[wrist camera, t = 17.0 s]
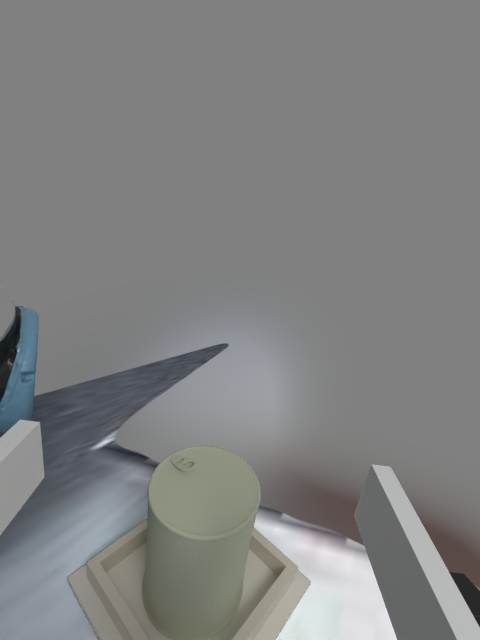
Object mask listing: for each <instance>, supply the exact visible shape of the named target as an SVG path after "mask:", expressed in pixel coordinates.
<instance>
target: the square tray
mask: <svg viewBox="0 0 480 640" xmlns="http://www.w3.org/2000/svg"><path fill="white" fill-rule="evenodd" d="M147 527H148V518H147V519H146V520H145V521H143V522H142V523H141V524H139V525H138V526H136V527H135V528H134V529H132V530H131V531H129V532H128V533H127V534H125V535H124V536H122V537H121V538H120V539H118V540H117V541H115V542H114V543H113V544H111V545H110V546H108V547H107V548H106V549H104V550H103V551H101V552H100V553H99V554H97V555H96V556H94V557H93V558H92V559H90V560H89V561H87V562H86V564H85V565H84V566H82V567H81V568H80V569H78V570H77V571H75V572H74V573H73V574H71V575H70V576H68V577H67V581H68V583H69V585H70V587H71V589H72V591H73V593H74V594H75V596H76V598H77V600H78V602H79V604H80V606H81V607H82V609H83V611H84V613H85V615H86V617H87V618H88V620H89V622H90V624H91V626H92V628H93V630H94V631H95V633H96V635H97V637H98V639H99V640H173V639H170V638H168V637H167V636H165V635H164V634H162V633H161V632H160V631H159V630H158V629H157V628H156V627H155V626H154V625H153V623H152V622H151V620H150V619H149V617H148V615H147V612H146V610H145V607H144V603H143V596H142V584H143V577H144V573H145V564H146V548H147ZM297 568H298V566H297V565H295V564H294V563H293V562H292V561H291V560H290V559H289V558H288V557H286V556H285V555H284V554H283V553H282V552H281V551H280V550H279V549H277V548H276V547H275V546H274V545H273V544H272V543H271V542H270V541H269V540H267V539H266V538H265V537H264V536H263V535H262V534H261V533H260V532H258V531H257V530H256V529H255V528H254V527H253V531H252V536H251V541H250V546H249V551H248V556H247V561H246V567H245V572H244V578H243V592H242V598H241V602H240V605H239V607H238V610H237V612H236V613H235V615H234V617H233V618H232V620H231V621H230V622H229V624H228V625H227V626H226V627H225V628H224V629H223V630H222V631H221V632H219V633H218V634H216V635H215V636H213V637H211V638H209V639H207V640H275V639H276V638H277V636H278V635H279V633H280V632H281V630H282V628H283V627H284V625H285V624H286V622H287V620H288V619H289V617H290V616H291V614H292V613H293V611H294V609H295V608H296V606H297V605H298V603H299V601H300V600H301V598H302V597H303V595H304V594H305V592H306V590H307V589H308V587H309V586H310V583H311V581H310V580H309V579H308V578H307V577H306V576H304V575H303V574H302V573H301V572H300V571H299V570H298V569H297Z"/></svg>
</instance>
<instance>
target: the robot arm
mask: <svg viewBox="0 0 480 640" xmlns="http://www.w3.org/2000/svg"><path fill="white" fill-rule="evenodd" d="M37 343H38V314H37V312H36V311H35V310H33V309H29V308H24V307H23V306H16V307H15V305H14V301H13V299H12V296H11V294H10V293H9V292H8V290H7V289H6V288H5V287H4V286H3V285H2V284H1V283H0V434H4V433H5V434H4V435H3V436H2V437H1V438H0V535H1V534H2V532H3V531H4V530H5V529H6V527H7V526H8V525H9V523H10V522H11V521H12V519H13V518H14V517H15V515H16V514H17V513H18V511H19V510H20V509H21V507H22V506H23V505H24V503H25V502H26V501H27V499H28V498H29V497H30V496H31V494H32V493H33V492H34V490H35V489H36V488H37V486H38V485H39V484H40V482H41V481H42V480H43V478H44V466H43V454H42V442H41V430H40V422H35V421H29V420H30V418H31V416H32V411H33V402H34V388H35V372H36V360H37ZM354 517H355V520H356V522H357V525H358V528H359V531H360V534H361V537H362V539H363V542H364V545H365V548H366V551H367V554H368V557H369V560H370V563H371V565H372V568H373V571H374V574H375V577H376V580H377V583H378V586H379V588H380V591H381V594H382V597H383V600H384V603H385V606H386V608H387V611H388V614H389V617H390V620H391V623H392V626H393V628H394V631H395V634H396V637H397V640H480V591H479V590H478V589H477V588H476V587H475V586H474V585H473V583H472V582H471V581H470V580H469V579H468V578H467V577H466V576H465V575H464V574H460V573H452V572H448V570H447V568H446V566H445V564H444V562H443V560H442V559H441V557H440V556H439V553H438V551H437V550H436V548H435V547H434V544H433V543H432V541H431V539H430V537H429V535H428V534H427V532H426V530H425V528H424V527H423V525H422V523H421V521H420V519H419V517H418V516H417V514H416V512H415V510H414V508H413V507H412V505H411V503H410V501H409V500H408V498H407V496H406V494H405V492H404V490H403V489H402V487H401V485H400V483H399V481H398V480H397V478H396V476H395V474H394V472H393V471H392V469H391V467H388V466H380V465H371V467H370V471H369V473H368V476H367V479H366V482H365V485H364V488H363V491H362V493H361V497H360V500H359V502H358V505H357V508H356V511H355V514H354Z"/></svg>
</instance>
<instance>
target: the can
mask: <svg viewBox="0 0 480 640" xmlns="http://www.w3.org/2000/svg"><path fill="white" fill-rule="evenodd" d="M260 497H261V492H260V485H259V481H258V478H257V476H256V474H255V472H254V471H253V469H252V468H251V467H250V466H249V465H248V463H246V462H245V461H244V460H243V459H242V458H241V457H239V456H237V455H236V454H234V453H232V452H230V451H227V450H225V449H222V448H218V447H212V446H195V447H189V448H185V449H182V450H179V451H177V452H175V453H173V454H171V455H169V456H168V457H167V458H165V459H164V460H163V461H162V462H161V463H160V464H159V465H158V466H157V467H156V469H155V470H154V472H153V474H152V476H151V478H150V481H149V485H148V527H147V548H146V564H145V573H144V577H143V584H142V596H143V603H144V607H145V610H146V612H147V615H148V617H149V619H150V620H151V622H152V623H153V625H154V626H155V627H156V628H157V629H158V630H159V631H160V632H161V633H162V634H164V635H165V636H167V637H168V638H170V639H173V640H207V639H209V638H211V637H213V636H215V635H216V634H218V633H219V632H221V631H222V630H223V629H224V628H225V627H226V626H227V625H228V624H229V622H230V621H231V620H232V618H233V617H234V615H235V613H236V612H237V610H238V607H239V605H240V602H241V598H242V592H243V578H244V572H245V567H246V561H247V556H248V551H249V546H250V541H251V536H252V531H253V527H254V522H255V517H256V513H257V510H258V507H259V504H260Z"/></svg>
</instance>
